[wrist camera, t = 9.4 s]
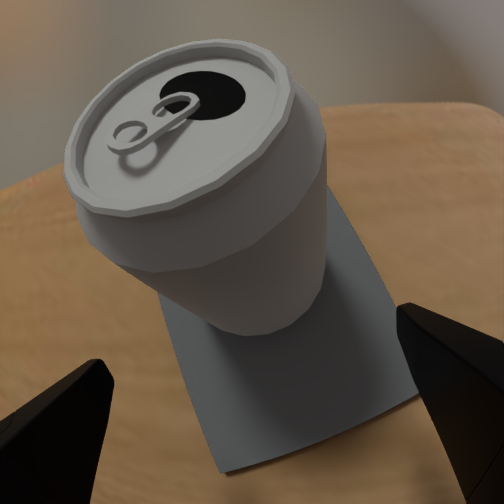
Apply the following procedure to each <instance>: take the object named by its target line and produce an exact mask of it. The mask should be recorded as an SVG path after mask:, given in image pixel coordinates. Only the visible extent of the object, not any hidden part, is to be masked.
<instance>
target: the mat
mask: <svg viewBox="0 0 504 504" xmlns="http://www.w3.org/2000/svg"><path fill="white" fill-rule="evenodd" d="M158 296H159V300H160V303H161V307H162V310H163V314H164V317H165V321H166V324H167V328H168V331H169V334H170V338H171V341H172V344H173V347H174V351H175V354H176V357H177V360H178V363H179V366H180V369H181V372H182V375H183V378H184V381H185V384H186V387H187V390H188V393H189V395H190V398H191V401H192V404H193V407H194V409H195V412H196V415H197V417H198V420H199V423H200V425H201V428H202V431H203V433H204V436H205V438H206V441H207V443H208V446H209V448H210V451H211V453H212V456H213V458H214V460H215V463H216V465H217V467H218V470H219V472H220V473H224V472H228V471H232V470H236V469H240V468H243V467H247V466H250V465H254V464H257V463H260V462H263V461H267V460H270V459H273V458H276V457H279V456H282V455H285V454H288V453H290V452H293V451H296V450H299V449H302V448H304V447H307V446H309V445H312V444H315V443H317V442H320V441H322V440H325V439H327V438H329V437H332V436H334V435H337V434H339V433H341V432H343V431H346V430H348V429H350V428H352V427H354V426H357V425H359V424H361V423H363V422H365V421H367V420H369V419H371V418H373V417H375V416H377V415H379V414H381V413H383V412H385V411H387V410H389V409H391V408H393V407H395V406H397V405H398V404H400V403H402V402H404V401H406V400H407V399H409V398H411V397H413V396H414V395H416V394H418V393H419V391H418V389H417V387H416V385H415V383H414V381H413V378H412V376H411V373H410V370H409V367H408V364H407V361H406V359H405V356H404V353H403V350H402V348H401V345H400V342H399V340H398V337H397V332H396V309H397V308H396V306H395V304H394V302H393V300H392V298H391V297H390V295H389V293H388V291H387V289H386V287H385V285H384V283H383V281H382V279H381V277H380V275H379V273H378V272H377V270H376V268H375V266H374V264H373V262H372V260H371V259H370V257H369V255H368V253H367V251H366V250H365V248H364V246H363V244H362V242H361V241H360V239H359V237H358V235H357V234H356V232H355V230H354V228H353V227H352V225H351V223H350V222H349V220H348V218H347V217H346V215H345V213H344V212H343V210H342V208H341V207H340V205H339V203H338V202H337V200H336V198H335V197H334V195H333V193H332V192H331V190H330V189H329V187H328V185H327V227H326V263H325V271H324V276H323V281H322V286H321V289H320V291H319V293H318V294H317V296H316V298H315V299H314V301H313V303H312V305H311V306H310V308H309V309H308V310H307V311H306V312H305V313H304V314H302V315H301V316H300V317H299V318H298V319H297V320H296V321H294V322H293V323H292V324H291V325H289V326H287V327H284V328H282V329H280V330H277V331H275V332H273V333H270V334H266V335H254V336H241V335H237V334H233V333H229V332H226V331H222V330H220V329H218V328H217V327H215V326H213V325H212V324H210V323H208V322H206V321H205V320H203V319H201V318H200V317H198V316H196V315H195V314H193V313H191V312H190V311H188V310H186V309H185V308H183V307H181V306H180V305H178V304H177V303H175V302H173V301H172V300H170V299H169V298H167V297H165V296H164V295H162V294H161V293H159V292H158Z"/></svg>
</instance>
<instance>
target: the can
mask: <svg viewBox="0 0 504 504" xmlns="http://www.w3.org/2000/svg"><path fill="white" fill-rule="evenodd" d="M63 177H64V179H65V182H66V184H67V186H68V189H69V191H70V194H71V196H72V198H73V199H74V200H76V207H77V218H78V220H79V222H80V224H81V226H82V229H83V231H84V233H85V235H86V237H87V239H88V241H89V243H90V244H91V245H92V246H94V247H95V248H96V249H97V250H98V251H100V252H101V253H102V254H103V255H105V256H106V257H107V258H108V259H110V260H111V261H112V262H113V263H115V264H116V265H118V266H119V267H121V268H122V269H124V270H125V271H127V272H128V273H130V274H131V275H133V276H134V277H136V278H137V279H139V280H140V281H142V282H143V283H145V284H146V285H148V286H150V287H151V288H153V289H154V290H156V291H157V292H159V293H161V294H162V295H164V296H165V297H167V298H169V299H170V300H172V301H173V302H175V303H177V304H178V305H180V306H181V307H183V308H185V309H186V310H188V311H190V312H191V313H193V314H195V315H196V316H198V317H200V318H201V319H203V320H205V321H206V322H208V323H210V324H212V325H213V326H215V327H217V328H218V329H220V330H222V331H226V332H229V333H233V334H237V335H241V336H254V335H266V334H270V333H273V332H275V331H277V330H280V329H282V328H284V327H287V326H289V325H291V324H292V323H293V322H294V321H296V320H297V319H298V318H299V317H300V316H301V315H302V314H304V313H305V312H306V311H307V310H308V309H309V308H310V306H311V305H312V303H313V301H314V299H315V298H316V296H317V294H318V293H319V291H320V289H321V286H322V281H323V276H324V271H325V263H326V227H327V158H326V133H325V130H324V126H323V122H322V119H321V115H320V112H319V108H318V105H317V104H316V103H315V102H314V100H313V99H312V98H311V97H310V96H309V95H308V94H307V92H306V91H305V90H304V89H303V88H302V87H301V86H300V85H299V84H298V83H297V82H295V81H293V80H292V76H291V72H290V69H289V68H288V67H287V66H286V65H285V63H284V62H283V61H281V60H280V58H279V57H277V55H276V54H275V53H273V52H271V51H269V50H267V49H264V48H262V47H260V46H257V45H255V44H252V43H250V42H246V41H238V40H228V39H213V40H203V41H194V42H190V43H186V44H182V45H179V46H176V47H172V48H169V49H166V50H163V51H161V52H159V53H156V54H154V55H152V56H150V57H148V58H146V59H144V60H142V61H140V62H138V63H136V64H135V65H133V66H132V67H130V68H129V69H127V70H126V71H124V72H123V73H122V74H120V75H119V76H118V77H116V78H115V79H113V80H112V81H111V82H110V83H109V84H108V85H107V86H106V87H105V88H103V89H102V90H101V92H99V93H98V94H97V95H96V96H95V97H94V98H93V99H92V100H91V102H90V103H89V104H88V106H87V107H86V109H85V110H84V112H83V113H82V115H81V116H80V117H79V119H78V120H77V122H76V123H75V125H74V128H73V130H72V133H71V135H70V138H69V140H68V143H67V146H66V149H65V155H64V173H63Z"/></svg>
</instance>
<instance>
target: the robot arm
mask: <svg viewBox="0 0 504 504" xmlns="http://www.w3.org/2000/svg"><path fill="white" fill-rule="evenodd" d="M396 332H397V337H398V340H399V342H400V345H401V348H402V350H403V353H404V356H405V359H406V361H407V364H408V367H409V370H410V373H411V376H412V378H413V381H414V383H415V385H416V387H417V389H418V391H419V394H420V396H421V398H422V400H423V402H424V404H425V406H426V408H427V410H428V413H429V415H430V417H431V419H432V421H433V423H434V426H435V428H436V430H437V432H438V435H439V437H440V439H441V441H442V444H443V446H444V448H445V451H446V453H447V455H448V458H449V460H450V463H451V465H452V467H453V470H454V472H455V475H456V477H457V480H458V482H459V485H460V488H461V490H462V493H463V495H464V498H465V501H466V504H504V343H503V341H501V340H499V339H496V338H494V337H492V336H489V335H487V334H485V333H482V332H480V331H477V330H475V329H473V328H470V327H468V326H466V325H463V324H461V323H459V322H456V321H454V320H452V319H449V318H447V317H444V316H442V315H440V314H437V313H435V312H433V311H430V310H428V309H425V308H423V307H421V306H418V305H416V304H413V303H410V302H409V303H405V304H402V305H399V306H397V309H396ZM113 389H114V379H113V376H112V375H111V373H110V371H109V370H108V368H107V366H106V365H105V363H104V361H103V360H101V359H91V360H89V361H87V362H86V363H84V364H83V365H81V366H80V367H78V368H77V369H75V370H74V371H73V372H71V373H70V374H68V375H67V376H65V377H64V378H62V379H61V380H59V381H58V382H57V383H55V384H54V385H52V386H51V387H49V388H48V389H46V390H45V391H44V392H42V393H41V394H39V395H38V396H36V397H35V398H33V399H32V400H31V401H29V402H28V403H26V404H25V405H23V406H22V407H20V408H19V409H18V410H16V411H15V412H13V413H12V414H10V415H9V416H7V417H6V418H4V419H3V420H1V421H0V504H90V500H91V495H92V490H93V485H94V480H95V475H96V471H97V466H98V462H99V457H100V453H101V449H102V445H103V441H104V437H105V433H106V429H107V424H108V419H109V413H110V407H111V401H112V395H113Z"/></svg>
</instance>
